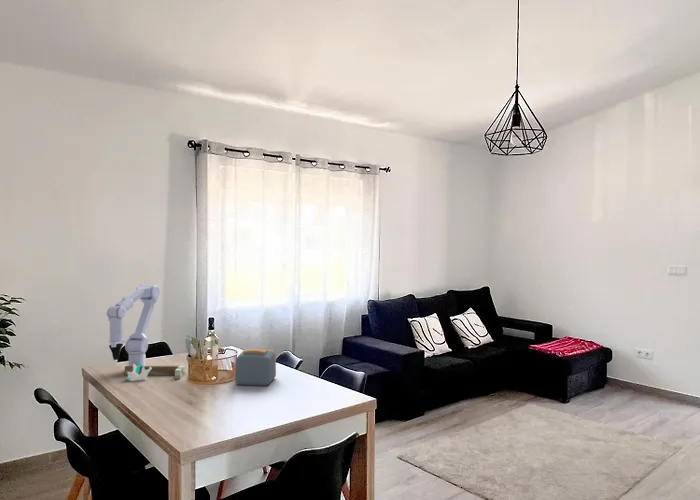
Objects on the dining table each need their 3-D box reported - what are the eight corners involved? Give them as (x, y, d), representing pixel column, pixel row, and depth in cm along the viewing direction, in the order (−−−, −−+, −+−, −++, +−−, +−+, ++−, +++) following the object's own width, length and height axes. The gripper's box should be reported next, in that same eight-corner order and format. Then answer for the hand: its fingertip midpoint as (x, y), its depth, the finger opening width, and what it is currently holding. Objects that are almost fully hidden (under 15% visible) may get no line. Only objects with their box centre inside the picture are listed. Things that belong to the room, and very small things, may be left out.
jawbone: (119, 377, 255) (126, 358, 257) (134, 381, 260) (141, 362, 263) (131, 381, 247) (139, 362, 250) (146, 385, 252) (153, 366, 255)
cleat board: (125, 374, 264) (125, 366, 264) (184, 373, 266) (184, 365, 266) (118, 379, 254) (119, 370, 254) (180, 378, 256) (180, 370, 256)
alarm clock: (276, 377, 260) (277, 345, 260) (268, 387, 244) (268, 352, 243) (244, 376, 262) (244, 344, 261) (233, 385, 245) (233, 351, 245)
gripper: (122, 333, 249) (122, 362, 250) (127, 328, 263) (127, 355, 264) (106, 334, 248) (106, 363, 248) (112, 328, 262) (112, 356, 262)
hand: (116, 359), depth 256 cm, fingers closed
